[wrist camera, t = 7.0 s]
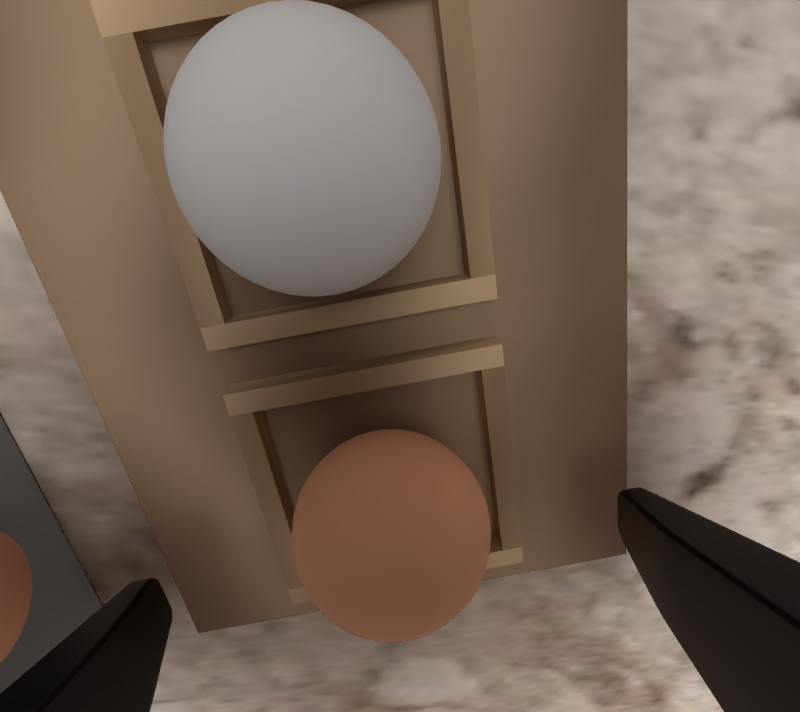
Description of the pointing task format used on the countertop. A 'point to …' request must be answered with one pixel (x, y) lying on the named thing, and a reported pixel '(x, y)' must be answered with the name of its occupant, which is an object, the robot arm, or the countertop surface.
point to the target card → (34, 571)
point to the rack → (346, 312)
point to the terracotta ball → (391, 535)
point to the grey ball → (302, 148)
